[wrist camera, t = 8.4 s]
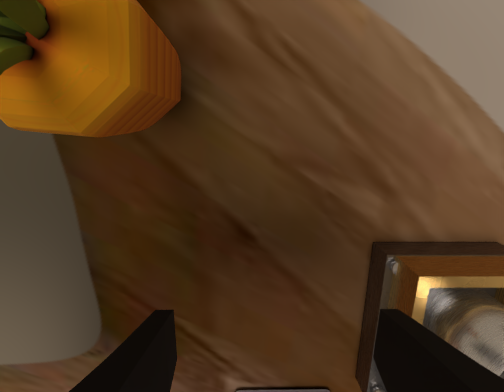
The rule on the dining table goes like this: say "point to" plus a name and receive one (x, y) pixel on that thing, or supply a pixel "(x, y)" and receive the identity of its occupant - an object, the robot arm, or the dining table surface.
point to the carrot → (84, 67)
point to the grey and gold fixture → (421, 285)
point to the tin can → (468, 324)
